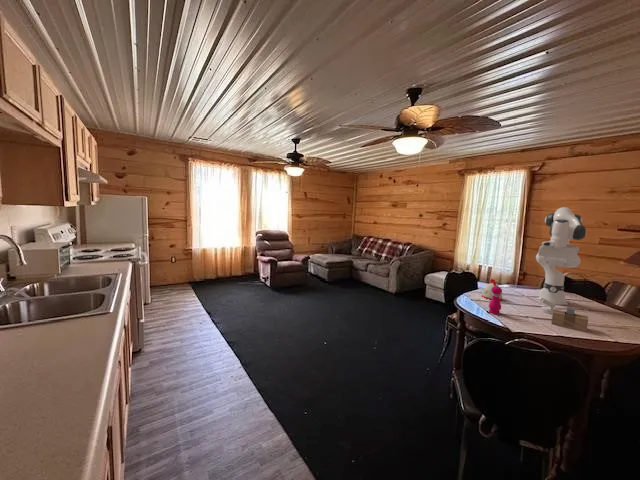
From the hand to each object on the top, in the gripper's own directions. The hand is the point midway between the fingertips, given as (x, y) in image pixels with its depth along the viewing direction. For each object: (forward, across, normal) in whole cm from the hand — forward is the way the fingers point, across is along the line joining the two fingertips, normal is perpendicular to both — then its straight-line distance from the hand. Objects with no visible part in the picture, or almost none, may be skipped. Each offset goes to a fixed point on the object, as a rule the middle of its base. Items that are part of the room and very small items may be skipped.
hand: (555, 264), depth 190 cm
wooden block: (+34, -10, +19) cm, 40 cm away
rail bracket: (+33, -10, +19) cm, 39 cm away
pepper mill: (+34, +28, +28) cm, 52 cm away
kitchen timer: (+34, +36, -8) cm, 51 cm away
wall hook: (+34, +1, -2) cm, 34 cm away
